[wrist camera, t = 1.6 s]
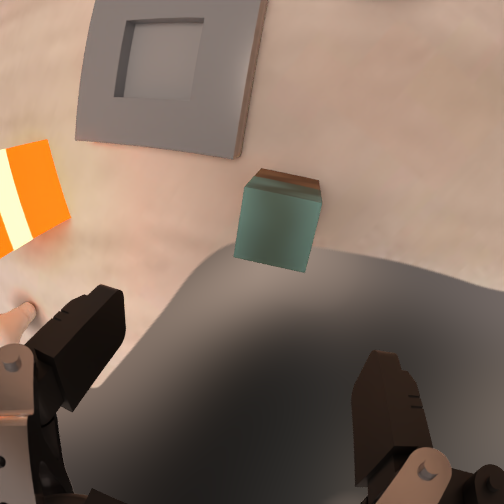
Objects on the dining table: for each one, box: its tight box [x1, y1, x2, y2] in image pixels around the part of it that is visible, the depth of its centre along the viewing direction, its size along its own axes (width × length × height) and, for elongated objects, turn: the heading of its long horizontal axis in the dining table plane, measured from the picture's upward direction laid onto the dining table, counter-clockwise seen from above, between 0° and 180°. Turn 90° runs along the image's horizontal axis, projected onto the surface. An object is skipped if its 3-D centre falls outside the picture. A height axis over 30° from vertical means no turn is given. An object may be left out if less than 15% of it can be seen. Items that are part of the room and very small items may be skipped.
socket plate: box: [75, 0, 268, 159], centre depth 21 cm, size 14×14×3 cm
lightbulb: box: [0, 302, 36, 348], centre depth 31 cm, size 6×6×11 cm
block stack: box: [234, 168, 322, 272], centre depth 22 cm, size 4×4×7 cm
